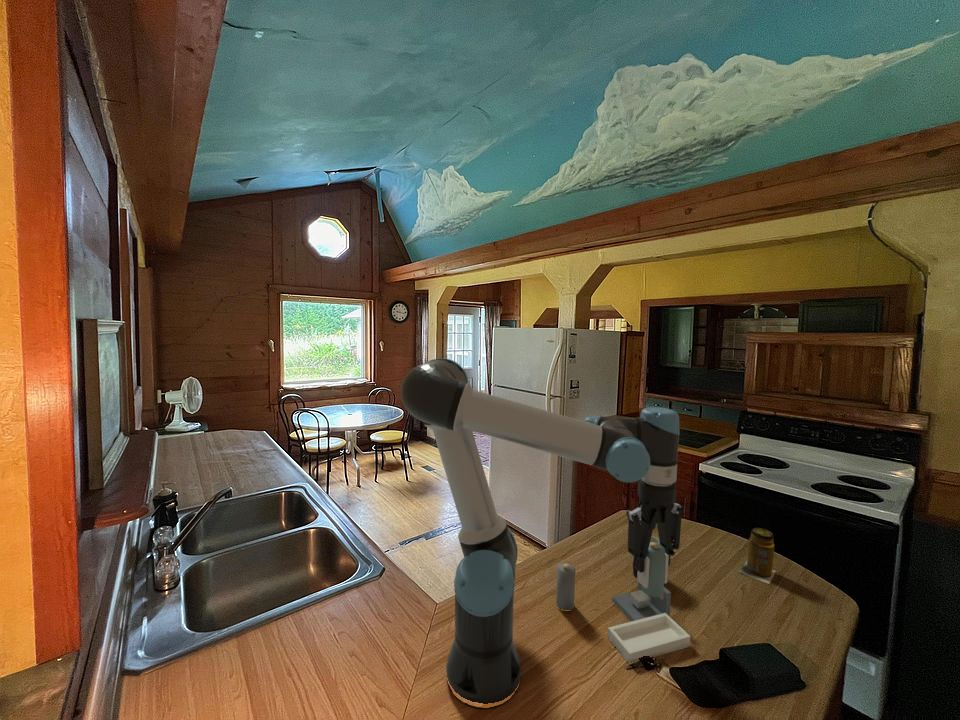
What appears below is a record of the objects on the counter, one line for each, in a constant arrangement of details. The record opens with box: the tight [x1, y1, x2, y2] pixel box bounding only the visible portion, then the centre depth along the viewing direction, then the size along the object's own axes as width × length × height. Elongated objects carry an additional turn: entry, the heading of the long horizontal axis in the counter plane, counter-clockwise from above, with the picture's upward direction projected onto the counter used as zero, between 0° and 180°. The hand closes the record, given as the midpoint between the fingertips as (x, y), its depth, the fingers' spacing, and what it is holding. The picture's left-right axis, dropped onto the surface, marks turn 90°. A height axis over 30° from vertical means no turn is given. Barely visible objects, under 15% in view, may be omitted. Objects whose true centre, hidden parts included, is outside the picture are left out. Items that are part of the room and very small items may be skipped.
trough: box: [607, 613, 691, 664], centre depth 92 cm, size 16×8×2 cm, turn 108°
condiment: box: [738, 527, 777, 585], centre depth 118 cm, size 7×8×12 cm
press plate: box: [630, 590, 651, 609], centre depth 102 cm, size 4×3×2 cm
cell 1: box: [555, 562, 576, 611], centre depth 104 cm, size 4×4×11 cm
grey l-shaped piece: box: [611, 581, 672, 622], centre depth 102 cm, size 9×10×7 cm
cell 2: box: [642, 542, 665, 597], centre depth 91 cm, size 4×4×11 cm
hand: (652, 581), depth 91 cm, fingers closed on cell 2, 4 cm apart
